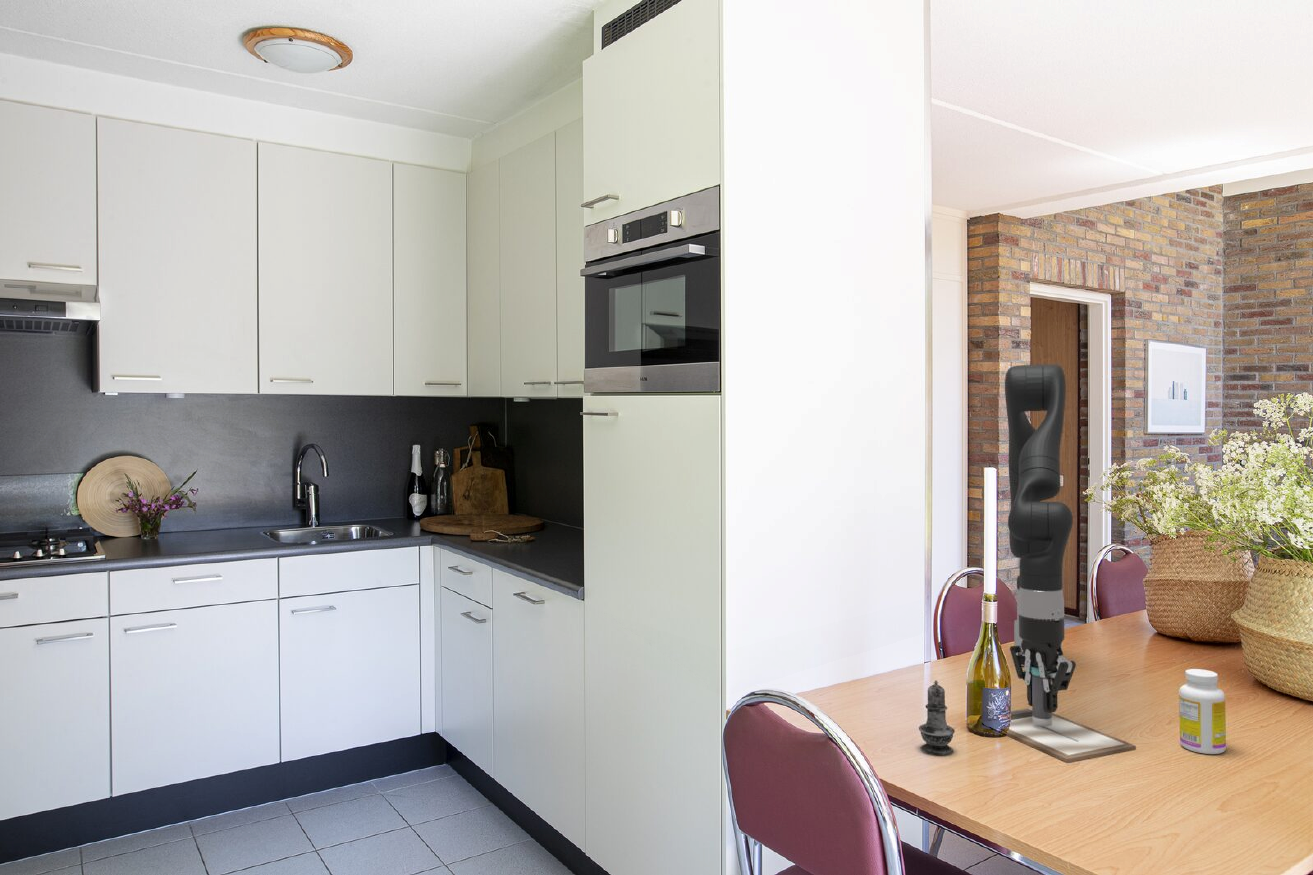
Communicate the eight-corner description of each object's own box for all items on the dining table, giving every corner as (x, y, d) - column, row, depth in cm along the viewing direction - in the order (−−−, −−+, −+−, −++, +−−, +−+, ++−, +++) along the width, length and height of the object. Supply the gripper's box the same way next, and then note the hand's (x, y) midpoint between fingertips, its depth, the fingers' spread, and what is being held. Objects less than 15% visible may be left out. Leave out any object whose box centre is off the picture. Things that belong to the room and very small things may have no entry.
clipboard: (981, 724, 164) (981, 715, 164) (1045, 713, 169) (1045, 705, 169) (1066, 762, 145) (1066, 753, 145) (1135, 749, 150) (1135, 739, 150)
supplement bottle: (1222, 744, 152) (1222, 669, 151) (1229, 758, 146) (1228, 680, 145) (1177, 739, 154) (1176, 665, 154) (1181, 752, 148) (1181, 675, 148)
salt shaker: (955, 745, 153) (954, 676, 153) (954, 758, 148) (953, 686, 148) (919, 742, 155) (918, 674, 155) (918, 754, 150) (917, 683, 150)
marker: (1027, 721, 160) (1027, 666, 160) (1042, 718, 162) (1041, 664, 161) (1041, 727, 157) (1041, 671, 157) (1056, 724, 158) (1056, 668, 158)
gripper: (996, 607, 164) (997, 700, 165) (1054, 623, 151) (1056, 723, 151) (1028, 603, 167) (1029, 695, 167) (1088, 618, 154) (1089, 718, 154)
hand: (1042, 708), depth 159 cm, fingers closed on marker, 3 cm apart
